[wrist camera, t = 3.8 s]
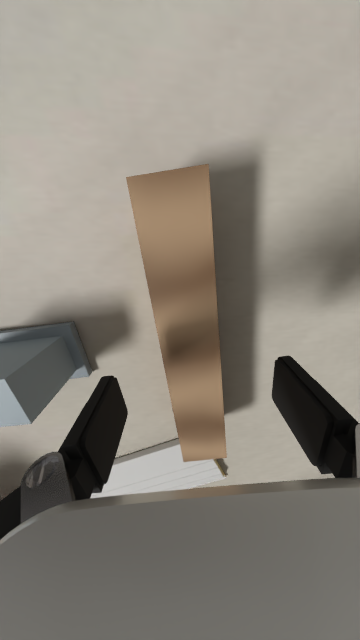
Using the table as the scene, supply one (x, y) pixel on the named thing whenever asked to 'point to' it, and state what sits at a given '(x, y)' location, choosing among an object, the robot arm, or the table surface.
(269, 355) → the table surface
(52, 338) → the slate ridge
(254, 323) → the table surface
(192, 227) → the walnut rod
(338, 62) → the table surface
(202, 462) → the baseboard molding
